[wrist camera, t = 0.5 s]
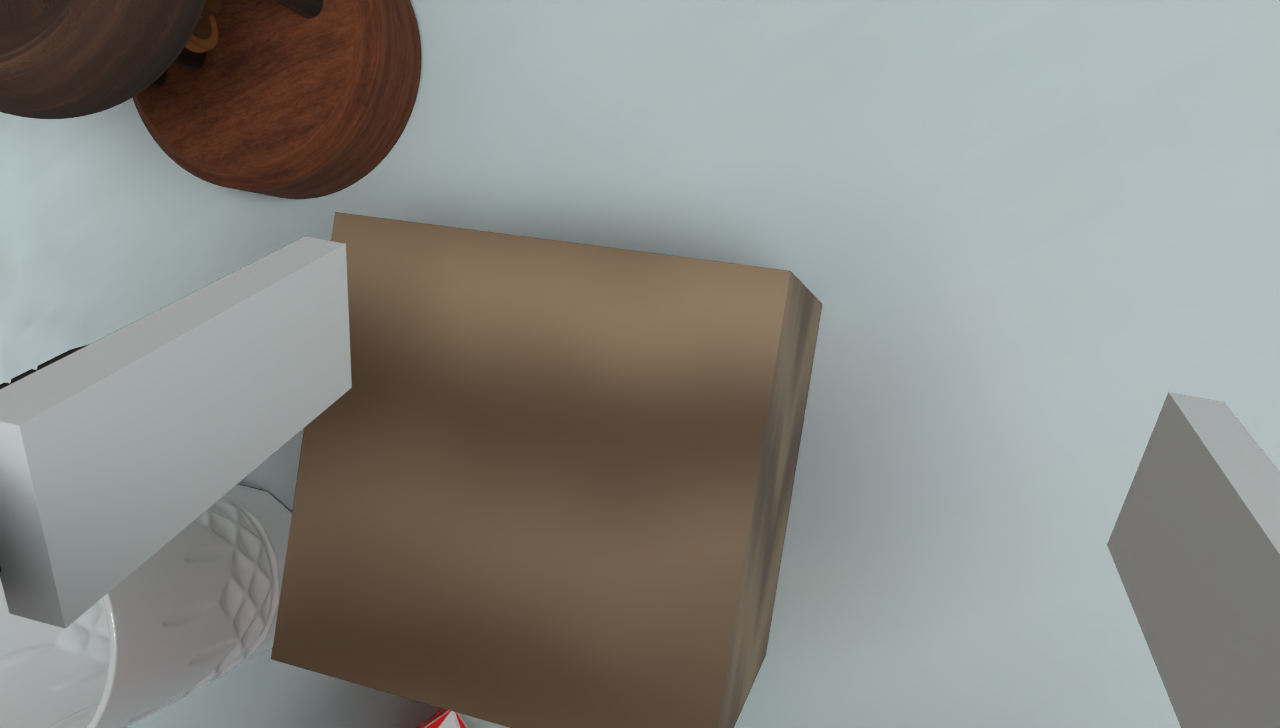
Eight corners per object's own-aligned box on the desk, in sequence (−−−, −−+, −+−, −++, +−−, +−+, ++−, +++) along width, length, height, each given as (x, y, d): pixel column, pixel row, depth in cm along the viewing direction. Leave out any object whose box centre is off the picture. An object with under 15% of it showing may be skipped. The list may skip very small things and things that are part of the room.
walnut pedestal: (765, 655, 31) (708, 784, 21) (447, 577, 34) (270, 658, 24) (822, 304, 30) (790, 270, 21) (495, 258, 33) (335, 212, 24)
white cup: (300, 447, 36) (80, 474, 26) (348, 645, 35) (141, 748, 25) (142, 496, 38) (-116, 538, 28) (185, 684, 37) (-65, 793, 27)
